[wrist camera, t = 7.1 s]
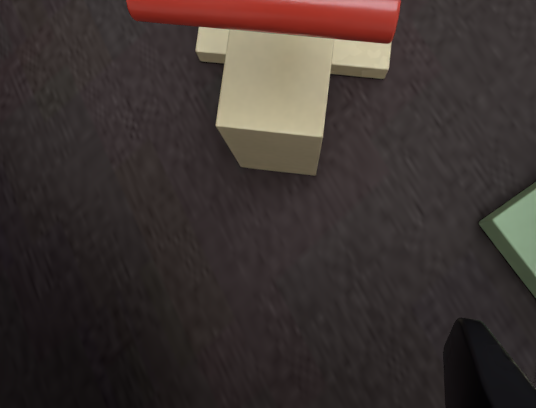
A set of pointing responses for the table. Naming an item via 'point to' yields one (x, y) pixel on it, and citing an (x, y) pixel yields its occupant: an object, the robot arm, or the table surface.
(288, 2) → the red handled lever
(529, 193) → the control block
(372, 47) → the lever stand
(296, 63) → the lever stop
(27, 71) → the table surface
